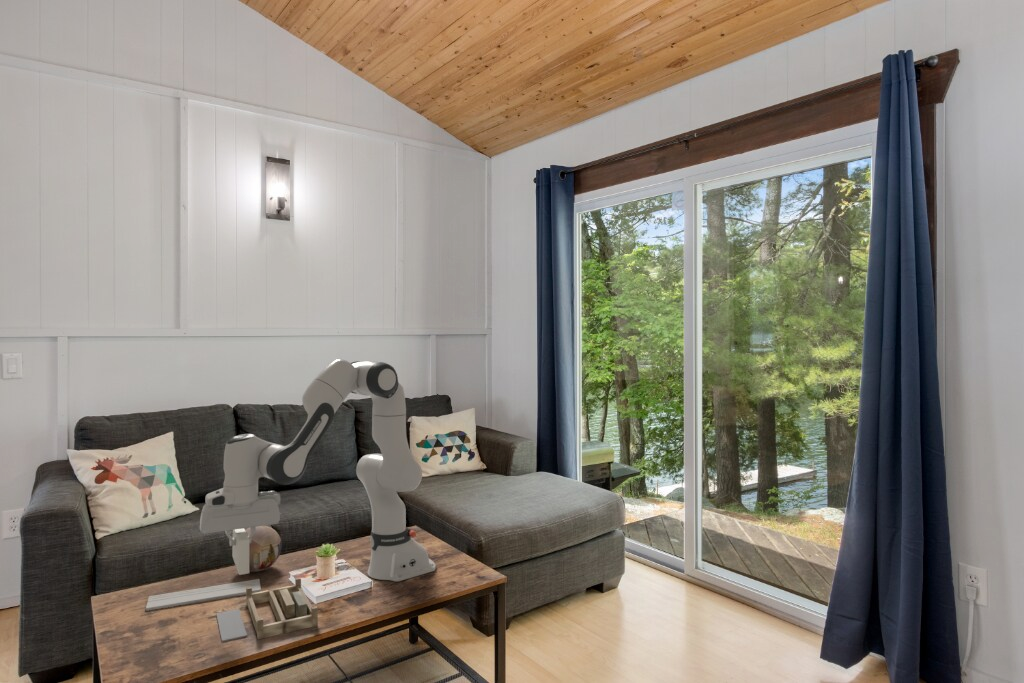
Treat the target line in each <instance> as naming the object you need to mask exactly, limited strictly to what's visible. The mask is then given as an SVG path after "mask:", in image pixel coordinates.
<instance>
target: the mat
mask: <svg viewBox="0 0 1024 683" xmlns="http://www.w3.org/2000/svg"><path fill="white" fill-rule="evenodd" d="M242 617H243V616H242V615H241V610H240V608H237V609H232V610H231V609H230V610H227V611H226V610H225V611H221V612H216V620H217V624H218V629H219V635H220V639H221V642H222V643H224V642H228V641H234V640H237V639H238V640H239V639H242V638H246V637H248V634H247V631H246V627H245V624H244V621H243V618H242Z"/></svg>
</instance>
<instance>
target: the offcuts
mask: <svg viewBox="0 0 1024 683" xmlns="http://www.w3.org/2000/svg"><path fill="white" fill-rule="evenodd" d="M278 600H279V601H278V603H279V605H280V606H281V610H282V611H283V613H284V616H285V619H286V618H287V619H288V618H289V619H290V618H293V617H296V618H298V617H303V616H307V603H306V601H305V599H304V597H303V596H302V594H301V592H300V591H297V592H292V597H291V596H290V594H289V592H288V590H287V589H283V590H279V599H278Z"/></svg>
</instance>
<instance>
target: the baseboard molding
mask: <svg viewBox="0 0 1024 683" xmlns="http://www.w3.org/2000/svg"><path fill="white" fill-rule="evenodd" d="M246 587H252V593H256V592H261V591H262V585H261V576H258V578H256V579H251V580H250V579H249V580H244V581H237V582H231V583H230V582H229V583H226V584H225V583H223V584H218V585H213V586H212V585H211V586H205V587H199V588H193V589H187V590H180V591H173V592H168V593H161V594H156V595H149V596H148V598H147V602H146V606H145V612H149V610H150V611H156V609H157V610H162V609H161V608H163V609H167V608H168V607H169V608H174V606H175V607H180V606H179V605H181V606H186V604H187V605H191V604H197V603H204V602H210V601H216V600H222V599H229V598H235V597H240V596H246Z"/></svg>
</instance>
